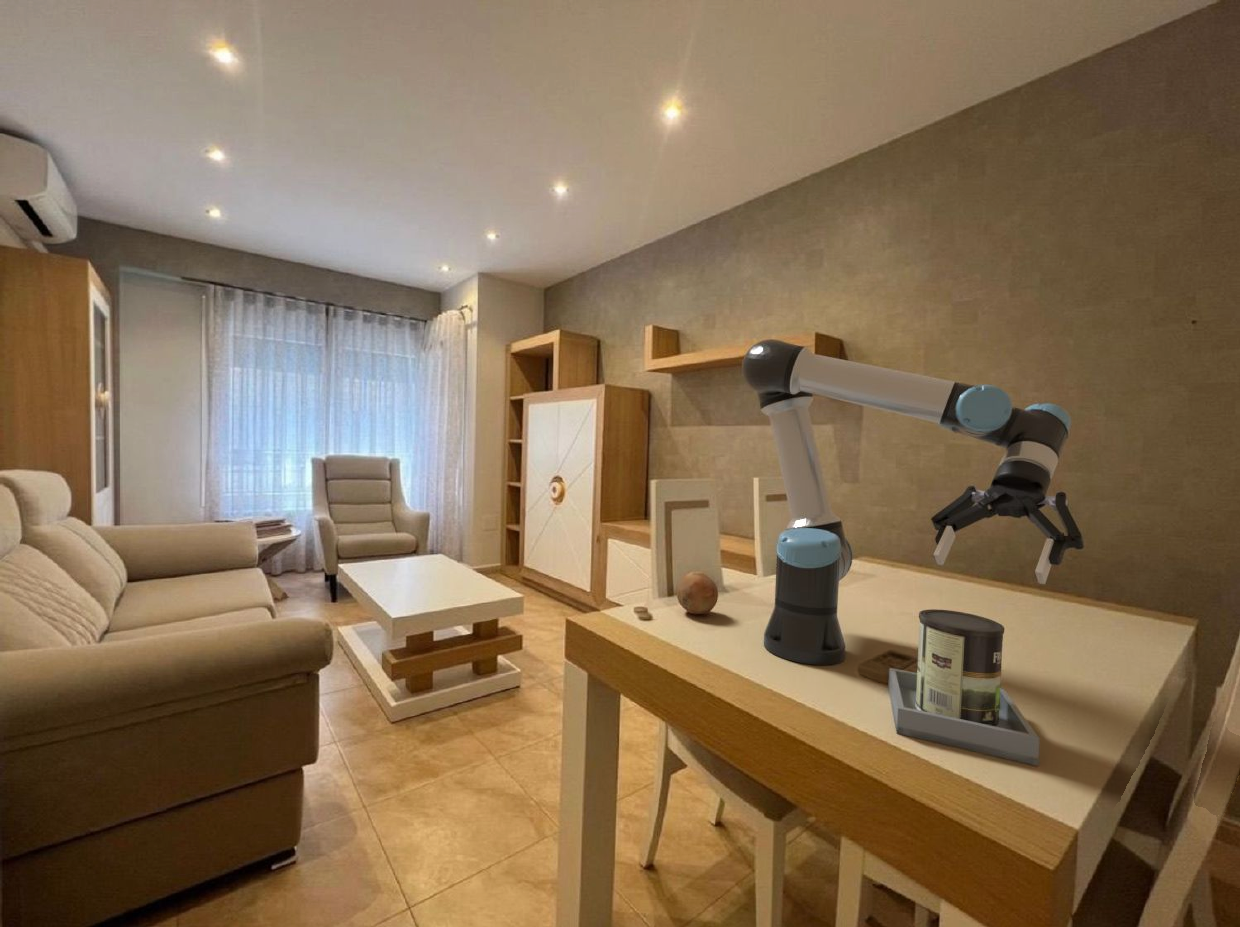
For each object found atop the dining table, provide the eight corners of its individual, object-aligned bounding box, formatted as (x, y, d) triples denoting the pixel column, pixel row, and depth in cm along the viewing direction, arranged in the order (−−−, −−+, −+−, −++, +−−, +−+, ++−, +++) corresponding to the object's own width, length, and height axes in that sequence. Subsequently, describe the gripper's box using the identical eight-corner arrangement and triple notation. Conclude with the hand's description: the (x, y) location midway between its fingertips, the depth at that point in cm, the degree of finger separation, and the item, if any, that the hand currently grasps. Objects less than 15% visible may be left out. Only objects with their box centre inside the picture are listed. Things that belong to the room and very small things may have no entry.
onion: (723, 613, 123) (725, 571, 123) (707, 623, 114) (709, 578, 114) (687, 605, 128) (689, 565, 128) (669, 614, 120) (670, 572, 120)
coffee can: (995, 712, 75) (1000, 617, 75) (1003, 743, 67) (1008, 636, 66) (915, 692, 81) (919, 604, 81) (912, 719, 72) (917, 620, 72)
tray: (896, 733, 70) (897, 708, 70) (888, 688, 84) (889, 667, 84) (1038, 766, 63) (1039, 738, 63) (1003, 712, 78) (1004, 689, 78)
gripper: (1126, 495, 79) (1095, 603, 71) (949, 484, 100) (909, 567, 91) (1120, 460, 76) (1087, 569, 68) (939, 456, 96) (896, 539, 88)
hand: (985, 568), depth 79 cm, fingers open, 13 cm apart
